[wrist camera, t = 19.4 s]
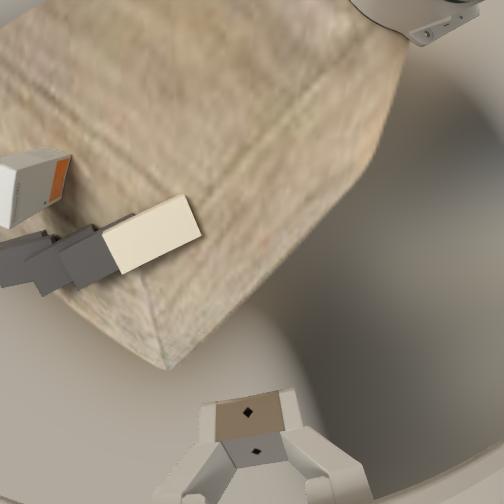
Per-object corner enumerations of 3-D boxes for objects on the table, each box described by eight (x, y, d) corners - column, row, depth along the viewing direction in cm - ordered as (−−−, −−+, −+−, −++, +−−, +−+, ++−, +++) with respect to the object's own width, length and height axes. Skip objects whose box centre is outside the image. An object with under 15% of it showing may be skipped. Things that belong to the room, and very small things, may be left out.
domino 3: (91, 226, 34) (23, 262, 31) (108, 263, 37) (42, 297, 33) (91, 223, 36) (26, 258, 33) (107, 258, 38) (44, 291, 35)
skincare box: (62, 199, 35) (9, 232, 24) (37, 189, 34) (-20, 219, 23) (73, 152, 33) (17, 170, 22) (46, 144, 32) (-14, 159, 21)
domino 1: (40, 233, 35) (-7, 246, 35) (53, 268, 37) (5, 277, 37) (47, 228, 36) (0, 242, 36) (59, 262, 38) (11, 272, 38)
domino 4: (133, 215, 35) (58, 253, 32) (151, 253, 37) (78, 290, 34) (132, 212, 36) (60, 249, 33) (149, 249, 38) (79, 285, 35)
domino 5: (184, 195, 34) (101, 235, 32) (201, 235, 36) (122, 274, 34) (181, 193, 36) (103, 231, 33) (198, 232, 38) (122, 269, 35)
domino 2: (50, 238, 34) (-11, 253, 31) (61, 275, 36) (1, 288, 33) (54, 234, 35) (-6, 249, 33) (64, 269, 37) (5, 282, 35)
